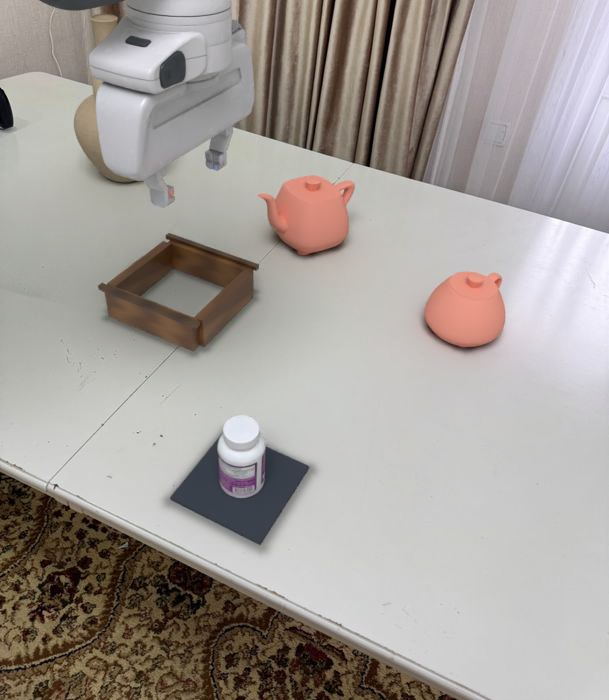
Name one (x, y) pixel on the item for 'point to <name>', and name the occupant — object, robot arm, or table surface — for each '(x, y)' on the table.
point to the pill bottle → (241, 457)
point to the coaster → (241, 513)
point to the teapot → (310, 213)
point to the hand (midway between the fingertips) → (191, 184)
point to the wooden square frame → (192, 261)
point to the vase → (87, 109)
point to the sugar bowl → (467, 309)
